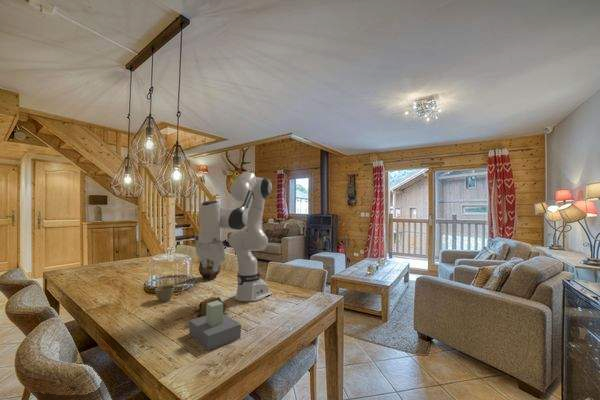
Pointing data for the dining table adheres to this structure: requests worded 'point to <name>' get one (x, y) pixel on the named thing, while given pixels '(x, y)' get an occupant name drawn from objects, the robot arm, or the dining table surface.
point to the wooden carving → (202, 305)
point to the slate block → (214, 332)
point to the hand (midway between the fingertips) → (209, 269)
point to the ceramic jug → (208, 270)
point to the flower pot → (164, 292)
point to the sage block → (214, 313)
